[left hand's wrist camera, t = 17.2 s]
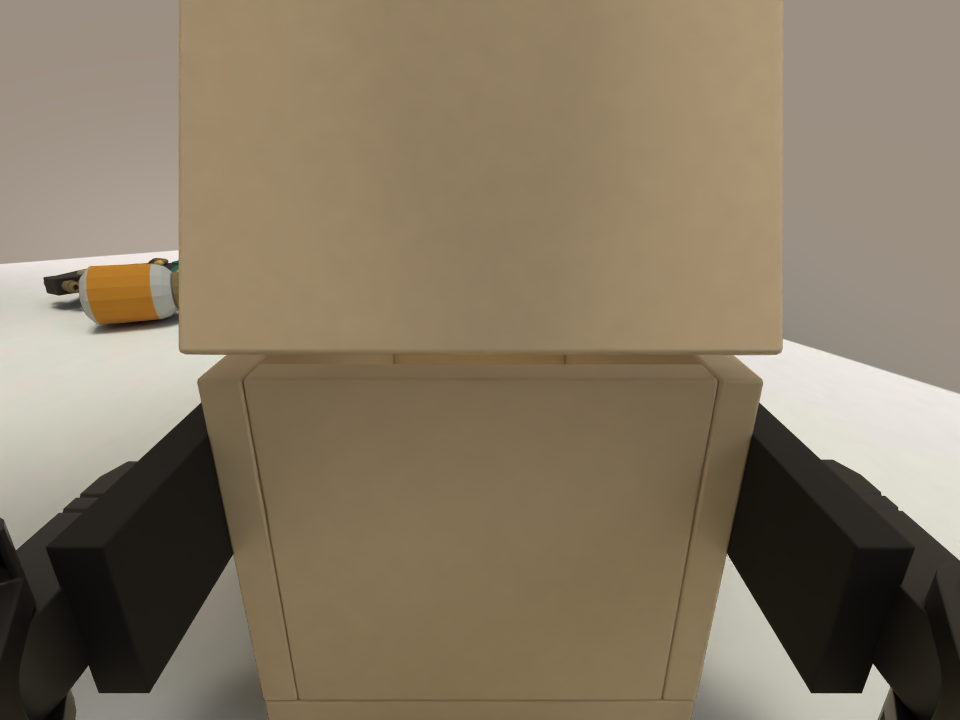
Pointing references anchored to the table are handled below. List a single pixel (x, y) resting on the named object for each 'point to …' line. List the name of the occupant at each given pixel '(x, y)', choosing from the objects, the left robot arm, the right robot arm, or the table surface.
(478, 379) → the chest
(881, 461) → the table surface
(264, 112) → the lid
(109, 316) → the spray gun
